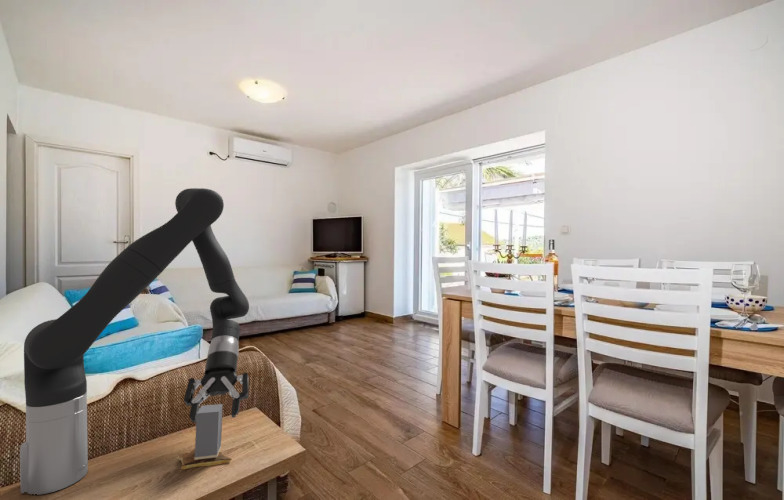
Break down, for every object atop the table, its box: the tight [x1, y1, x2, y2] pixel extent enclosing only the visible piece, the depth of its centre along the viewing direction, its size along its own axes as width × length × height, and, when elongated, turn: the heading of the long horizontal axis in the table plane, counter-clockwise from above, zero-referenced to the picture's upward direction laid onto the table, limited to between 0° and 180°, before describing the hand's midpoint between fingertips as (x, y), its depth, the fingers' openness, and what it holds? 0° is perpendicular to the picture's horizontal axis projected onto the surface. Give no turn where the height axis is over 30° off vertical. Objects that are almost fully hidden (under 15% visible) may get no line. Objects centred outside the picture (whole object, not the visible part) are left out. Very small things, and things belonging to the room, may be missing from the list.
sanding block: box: [194, 403, 224, 460], centre depth 80 cm, size 5×5×10 cm
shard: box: [177, 448, 232, 470], centre depth 79 cm, size 11×8×2 cm
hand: (214, 418), depth 84 cm, fingers open, 8 cm apart
